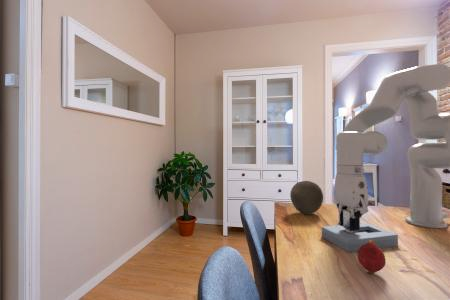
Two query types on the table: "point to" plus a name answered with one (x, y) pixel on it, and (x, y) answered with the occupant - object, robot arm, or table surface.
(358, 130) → the robot arm
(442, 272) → the table surface
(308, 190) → the dark brown ball
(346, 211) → the stud
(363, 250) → the onion
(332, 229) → the keyhole plate
